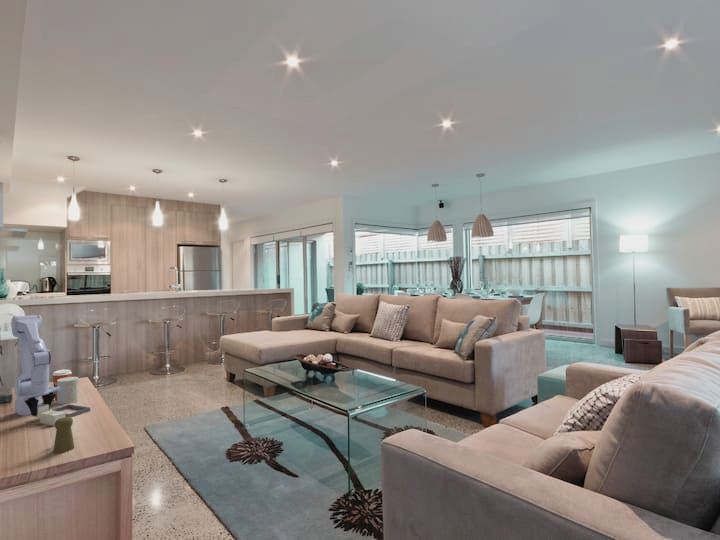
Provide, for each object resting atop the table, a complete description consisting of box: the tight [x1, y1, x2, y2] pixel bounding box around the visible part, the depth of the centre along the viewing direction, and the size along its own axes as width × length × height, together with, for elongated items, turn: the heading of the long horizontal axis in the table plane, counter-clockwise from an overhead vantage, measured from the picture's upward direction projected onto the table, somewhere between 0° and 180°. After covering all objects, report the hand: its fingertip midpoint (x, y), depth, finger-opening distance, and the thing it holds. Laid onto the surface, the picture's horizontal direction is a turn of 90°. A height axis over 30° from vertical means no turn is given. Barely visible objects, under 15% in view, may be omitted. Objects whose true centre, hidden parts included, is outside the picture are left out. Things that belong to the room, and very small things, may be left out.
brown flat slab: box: [24, 417, 55, 428], centre depth 163 cm, size 16×7×2 cm, turn 70°
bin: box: [51, 403, 91, 418], centre depth 173 cm, size 13×9×3 cm
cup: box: [56, 376, 80, 405], centre depth 189 cm, size 8×8×12 cm
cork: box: [52, 417, 75, 454], centre depth 141 cm, size 6×6×11 cm
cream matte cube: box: [32, 402, 50, 418], centre depth 164 cm, size 4×4×4 cm
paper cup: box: [51, 369, 73, 402], centre depth 196 cm, size 8×8×14 cm
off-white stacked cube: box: [40, 409, 57, 424], centre depth 162 cm, size 4×4×4 cm
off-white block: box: [48, 411, 66, 427], centre depth 161 cm, size 4×4×4 cm
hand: (40, 413), depth 164 cm, fingers closed on cream matte cube, 4 cm apart
